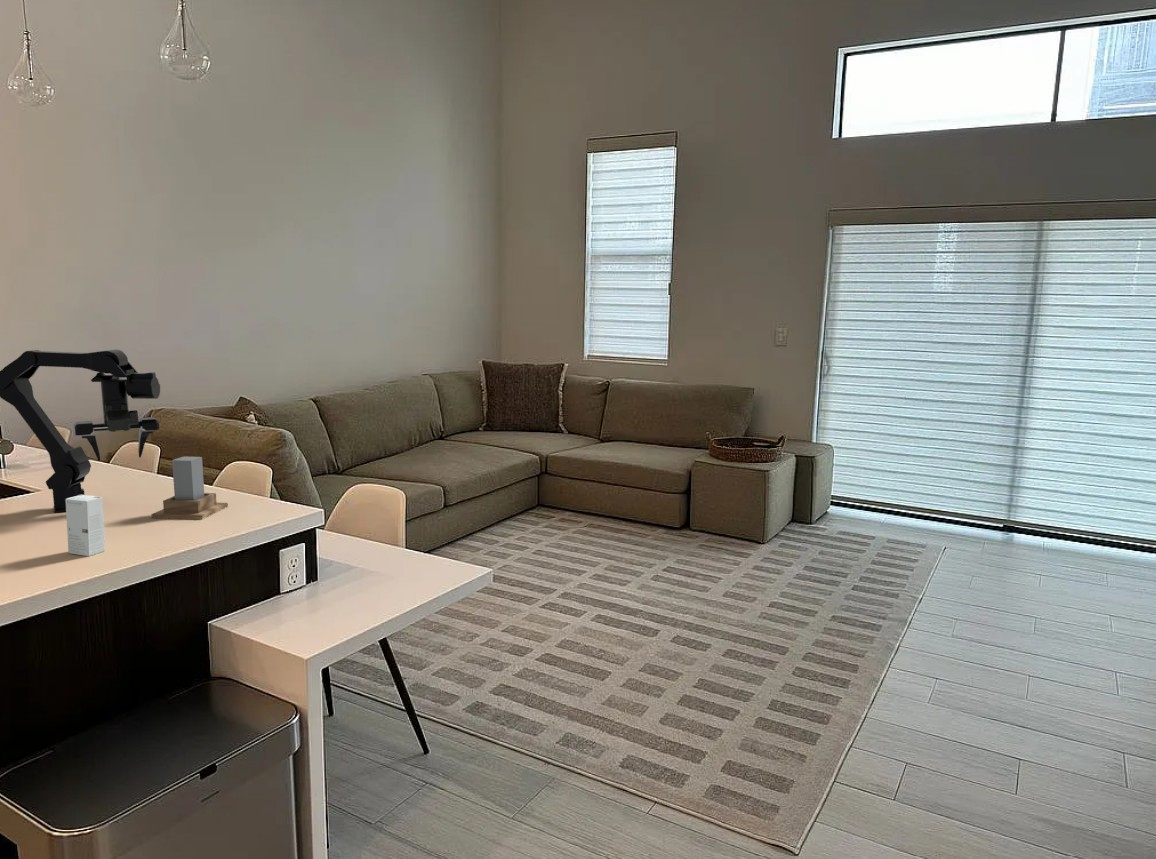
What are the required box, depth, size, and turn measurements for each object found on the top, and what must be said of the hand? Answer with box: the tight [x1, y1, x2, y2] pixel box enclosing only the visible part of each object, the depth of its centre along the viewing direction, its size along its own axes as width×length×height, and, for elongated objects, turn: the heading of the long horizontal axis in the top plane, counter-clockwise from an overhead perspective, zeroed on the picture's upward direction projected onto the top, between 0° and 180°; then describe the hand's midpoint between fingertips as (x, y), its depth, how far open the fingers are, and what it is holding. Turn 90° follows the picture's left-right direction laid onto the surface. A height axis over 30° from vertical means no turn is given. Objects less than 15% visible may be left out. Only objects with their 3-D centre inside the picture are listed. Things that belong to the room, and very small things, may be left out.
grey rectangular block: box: [171, 456, 205, 501], centre depth 206 cm, size 5×5×13 cm
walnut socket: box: [151, 492, 229, 520], centre depth 207 cm, size 13×13×4 cm
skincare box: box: [65, 494, 106, 557], centre depth 173 cm, size 6×4×12 cm
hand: (119, 459), depth 209 cm, fingers open, 9 cm apart
